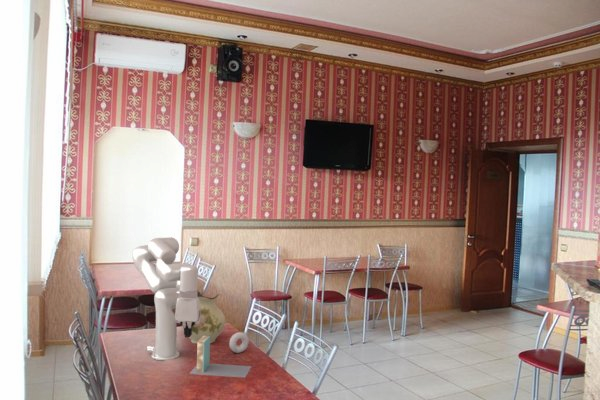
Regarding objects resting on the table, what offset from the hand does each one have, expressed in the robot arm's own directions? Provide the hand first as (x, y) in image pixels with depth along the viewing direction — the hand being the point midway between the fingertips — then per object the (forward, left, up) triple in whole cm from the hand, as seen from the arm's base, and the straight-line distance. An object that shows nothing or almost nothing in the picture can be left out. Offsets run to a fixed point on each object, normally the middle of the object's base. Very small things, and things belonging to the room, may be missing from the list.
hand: (187, 336), depth 223 cm
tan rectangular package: (+7, 0, -14) cm, 15 cm away
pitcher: (-6, +42, -14) cm, 45 cm away
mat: (+15, 0, -14) cm, 21 cm away
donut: (+17, +26, -14) cm, 35 cm away
